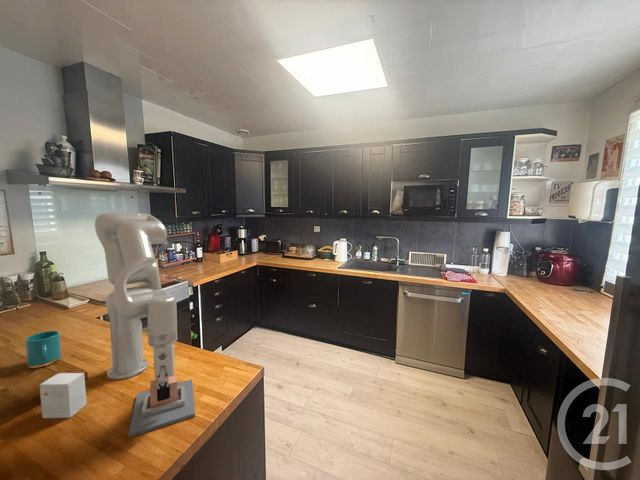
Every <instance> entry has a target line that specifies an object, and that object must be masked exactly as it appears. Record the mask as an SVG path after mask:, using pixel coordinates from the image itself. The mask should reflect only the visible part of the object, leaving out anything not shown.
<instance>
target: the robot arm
mask: <svg viewBox="0 0 640 480" xmlns="http://www.w3.org/2000/svg"><path fill="white" fill-rule="evenodd" d="M94 229H95V230H94V231H95V233H96V236H97V238H98V240H99V242H100V243H101V245H102V248H103V250H104V251H103V252H104V257H105V263H106V264H105V265H106V272H107V278H108V281H109V283H110V284H111V285H113V291H112V292H110V293H108V295H107V297H106V299H105V305H106V310H107V314H108V317H109V329H110V347H111V348H110V349H111V350H110V351H111V367H110V368H108V369H107V371H106V377H107V379H111V380H116V381H117V380H124V379H127V378H132V377H134V376H137V375H138V374H141V373H142V372H144V371H145V370H147V368H148V366H149V360H148V359H146V358H144V348H143V347H144V346H143V345H144V344H143V343H144V342H143V322H142V320H141V319H142V318H147V343H148V344H147V345H148V346H149V347H151V348H153V350H152V352H153V353H152V354H153V368H154V369H153V370H154V380H158V388H157V401H162V400H166V399H169V398H170V385H169V377H170V376H173V375H175V342H176V341H177V340H178V320H177V319H178V316H177V315H178V314H177V313H178V312H177V311H178V310H177V306H178V305H177V299H176V297H175V296H174V295H171V294H170V293H169V291H167V290H166V289H162V284H161V277H160V270H159V265H158V263H157V262H156V257H155V253H154V250H153V246H152V245H159V244H164V243H165V242H166V241H167V237H168V232H167V229H166V227H165V225H164V224H163V222H162V221H161V220H159V219H158V218H156V217H155V216H153V215H152V214H149V213H143V212H141V213H139V212H135V213H134V212H105V213H104V212H103V213H102V214H98V215H97V216H96V218H95V220H94ZM139 283H144V285H138V286H133V287H128V286H127V285H132V284H139ZM165 378H167V382H166V381H165Z"/></svg>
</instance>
